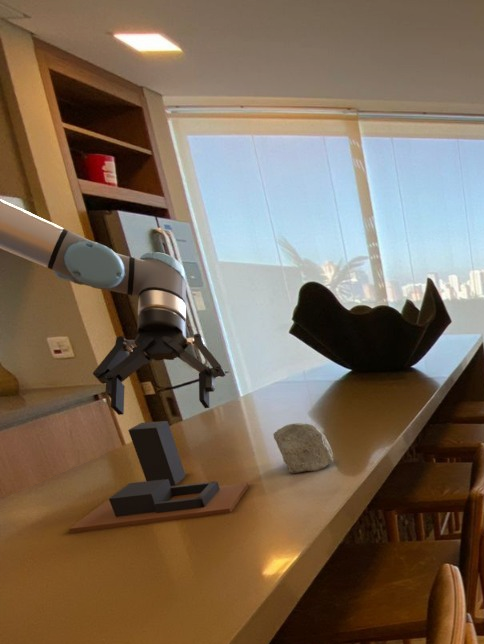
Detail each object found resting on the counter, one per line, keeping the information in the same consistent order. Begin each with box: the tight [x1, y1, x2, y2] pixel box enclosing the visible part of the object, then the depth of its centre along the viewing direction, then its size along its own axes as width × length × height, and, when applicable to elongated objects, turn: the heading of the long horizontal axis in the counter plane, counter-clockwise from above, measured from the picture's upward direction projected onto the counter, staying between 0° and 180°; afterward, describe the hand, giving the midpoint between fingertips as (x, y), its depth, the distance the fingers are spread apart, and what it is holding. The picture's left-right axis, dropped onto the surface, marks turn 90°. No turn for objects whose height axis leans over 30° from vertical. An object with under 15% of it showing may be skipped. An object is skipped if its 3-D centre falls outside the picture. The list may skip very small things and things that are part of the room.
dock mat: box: [68, 479, 250, 534], centre depth 92 cm, size 20×14×4 cm
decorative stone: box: [272, 422, 334, 474], centre depth 112 cm, size 13×11×10 cm
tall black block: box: [128, 420, 187, 487], centre depth 103 cm, size 4×6×11 cm, turn 23°
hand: (161, 407), depth 107 cm, fingers open, 13 cm apart
